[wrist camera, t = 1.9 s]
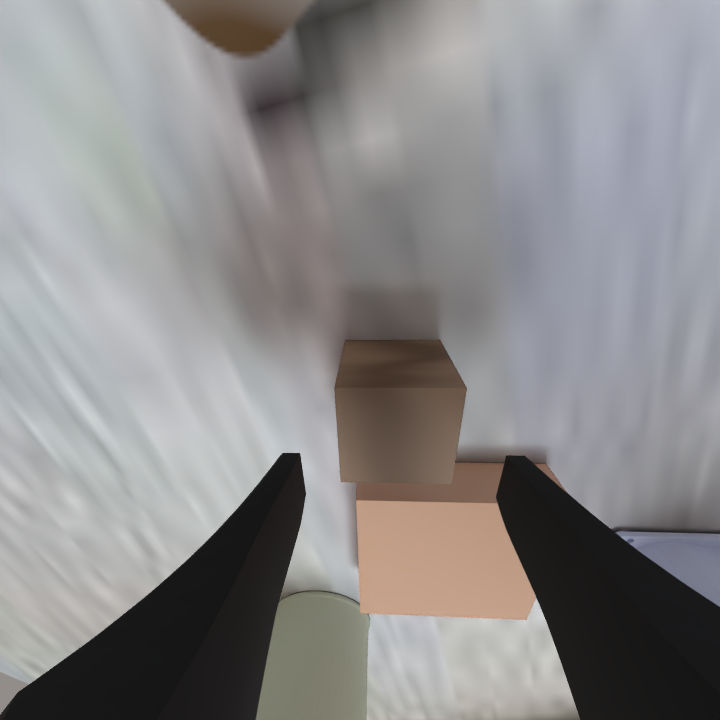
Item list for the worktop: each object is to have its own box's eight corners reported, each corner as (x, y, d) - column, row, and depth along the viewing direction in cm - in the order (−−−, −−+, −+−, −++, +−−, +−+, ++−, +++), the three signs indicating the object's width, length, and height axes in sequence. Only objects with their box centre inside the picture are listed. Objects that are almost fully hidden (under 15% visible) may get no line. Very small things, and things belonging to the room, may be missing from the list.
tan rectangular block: (546, 463, 19) (575, 505, 16) (509, 574, 24) (526, 619, 21) (358, 461, 19) (356, 500, 17) (361, 569, 24) (360, 613, 22)
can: (267, 588, 26) (193, 845, 15) (370, 592, 26) (367, 859, 15) (280, 639, 30) (228, 871, 19) (369, 643, 30) (367, 883, 19)
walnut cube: (439, 339, 16) (466, 388, 11) (432, 416, 18) (451, 484, 13) (345, 339, 16) (334, 387, 11) (349, 416, 18) (340, 481, 13)
